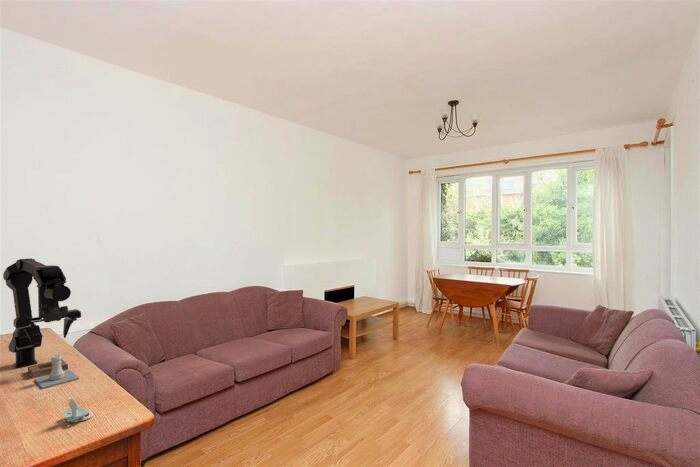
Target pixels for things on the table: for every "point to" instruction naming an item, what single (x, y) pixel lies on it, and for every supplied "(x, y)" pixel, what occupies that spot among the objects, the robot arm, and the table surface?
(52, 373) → the rook chess piece
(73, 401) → the pacifier
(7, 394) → the table surface
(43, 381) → the slate mat
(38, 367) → the socket block
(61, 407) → the table surface
